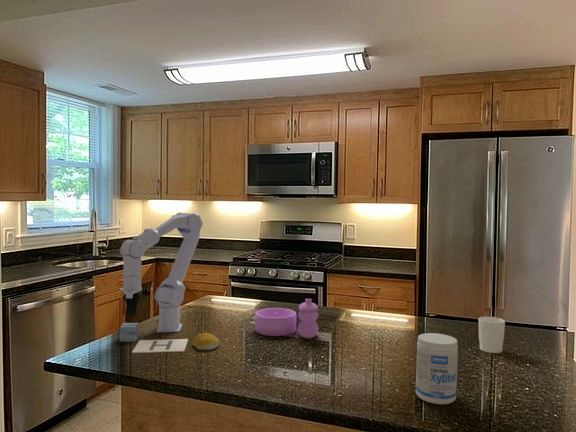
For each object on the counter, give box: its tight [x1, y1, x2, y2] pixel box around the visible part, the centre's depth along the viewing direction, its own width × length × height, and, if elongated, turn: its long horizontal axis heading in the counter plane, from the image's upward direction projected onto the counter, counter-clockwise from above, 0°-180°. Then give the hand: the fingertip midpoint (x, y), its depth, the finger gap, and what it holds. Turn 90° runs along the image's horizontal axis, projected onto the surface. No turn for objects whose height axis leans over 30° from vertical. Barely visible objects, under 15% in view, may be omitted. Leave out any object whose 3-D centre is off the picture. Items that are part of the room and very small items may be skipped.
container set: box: [254, 298, 320, 339], centre depth 163 cm, size 25×15×13 cm, turn 59°
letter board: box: [131, 338, 189, 354], centre depth 146 cm, size 12×16×1 cm
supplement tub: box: [415, 332, 459, 405], centre depth 110 cm, size 10×10×15 cm
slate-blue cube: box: [119, 322, 139, 343], centre depth 153 cm, size 5×5×5 cm
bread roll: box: [192, 332, 220, 351], centre depth 147 cm, size 8×9×4 cm
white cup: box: [478, 316, 506, 354], centre depth 146 cm, size 8×8×10 cm
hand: (132, 315), depth 152 cm, fingers closed
